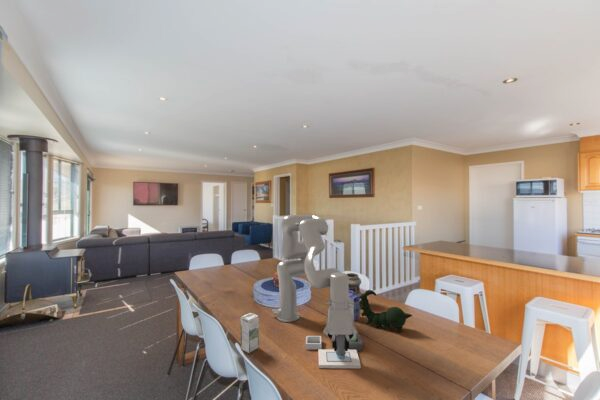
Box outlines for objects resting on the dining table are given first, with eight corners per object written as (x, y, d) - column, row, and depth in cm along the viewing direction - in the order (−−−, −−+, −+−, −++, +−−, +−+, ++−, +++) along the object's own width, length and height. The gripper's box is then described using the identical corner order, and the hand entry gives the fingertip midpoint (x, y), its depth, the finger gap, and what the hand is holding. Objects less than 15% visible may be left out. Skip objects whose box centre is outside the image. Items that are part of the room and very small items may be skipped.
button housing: (344, 350, 116) (343, 343, 116) (342, 340, 124) (341, 334, 124) (362, 350, 116) (362, 343, 116) (359, 340, 124) (359, 334, 124)
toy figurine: (360, 329, 138) (412, 337, 125) (356, 291, 139) (407, 295, 126) (366, 322, 146) (415, 329, 133) (362, 286, 147) (411, 289, 134)
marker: (336, 359, 107) (335, 332, 107) (335, 353, 111) (334, 327, 111) (346, 359, 107) (345, 332, 107) (345, 353, 111) (344, 327, 111)
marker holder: (305, 349, 118) (305, 343, 118) (306, 341, 124) (306, 335, 124) (321, 349, 117) (321, 343, 117) (321, 341, 124) (321, 335, 124)
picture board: (318, 368, 104) (318, 364, 104) (318, 352, 115) (318, 349, 115) (360, 368, 103) (360, 364, 103) (356, 352, 114) (356, 349, 114)
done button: (348, 344, 118) (347, 336, 118) (346, 339, 122) (346, 331, 122) (357, 344, 118) (357, 336, 118) (355, 339, 122) (355, 331, 122)
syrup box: (250, 343, 123) (250, 312, 123) (259, 348, 120) (258, 315, 120) (240, 349, 119) (239, 316, 119) (249, 353, 115) (248, 319, 115)
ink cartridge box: (360, 318, 147) (359, 292, 147) (354, 321, 143) (353, 294, 143) (346, 313, 154) (345, 287, 154) (339, 316, 151) (339, 290, 151)
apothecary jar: (340, 306, 165) (339, 276, 165) (344, 299, 176) (344, 271, 177) (360, 308, 161) (359, 278, 161) (363, 301, 172) (362, 273, 172)
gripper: (318, 307, 106) (320, 354, 106) (362, 307, 105) (363, 355, 105) (318, 300, 114) (319, 344, 114) (359, 300, 113) (360, 344, 113)
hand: (340, 349), depth 109 cm, fingers closed on marker, 4 cm apart
